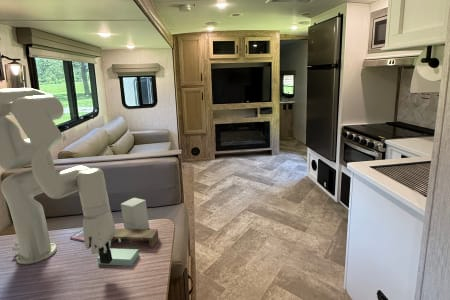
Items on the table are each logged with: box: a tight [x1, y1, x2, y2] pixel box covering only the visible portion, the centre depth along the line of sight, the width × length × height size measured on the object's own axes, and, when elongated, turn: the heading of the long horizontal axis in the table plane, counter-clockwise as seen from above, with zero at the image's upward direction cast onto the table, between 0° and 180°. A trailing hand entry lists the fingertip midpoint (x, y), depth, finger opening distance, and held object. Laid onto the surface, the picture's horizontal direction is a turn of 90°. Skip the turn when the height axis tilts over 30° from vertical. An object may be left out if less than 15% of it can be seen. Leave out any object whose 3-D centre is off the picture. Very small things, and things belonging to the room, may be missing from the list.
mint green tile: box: [97, 247, 140, 266], centre depth 103 cm, size 12×6×2 cm, turn 81°
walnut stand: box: [111, 227, 160, 249], centre depth 113 cm, size 18×6×4 cm, turn 81°
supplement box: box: [120, 197, 150, 229], centre depth 122 cm, size 7×7×13 cm
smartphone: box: [69, 229, 85, 243], centre depth 119 cm, size 1×7×15 cm
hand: (106, 261), depth 94 cm, fingers closed
